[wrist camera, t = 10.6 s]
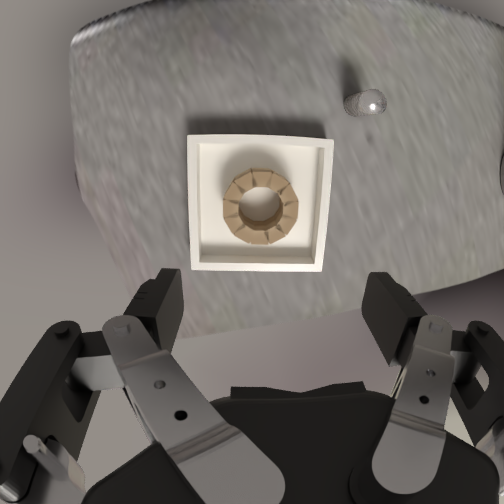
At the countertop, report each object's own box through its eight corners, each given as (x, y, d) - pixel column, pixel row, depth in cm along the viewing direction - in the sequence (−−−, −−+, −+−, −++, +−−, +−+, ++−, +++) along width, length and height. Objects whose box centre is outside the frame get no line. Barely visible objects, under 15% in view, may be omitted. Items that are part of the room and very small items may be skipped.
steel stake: (364, 97, 24) (386, 91, 20) (364, 118, 25) (386, 116, 21) (344, 93, 24) (363, 86, 20) (343, 115, 25) (362, 112, 20)
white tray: (326, 139, 26) (333, 139, 24) (316, 261, 31) (321, 271, 29) (192, 135, 26) (187, 135, 23) (195, 259, 30) (191, 269, 28)
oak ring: (294, 169, 27) (300, 173, 24) (290, 234, 29) (295, 245, 26) (225, 167, 26) (223, 171, 24) (225, 233, 29) (223, 244, 26)
